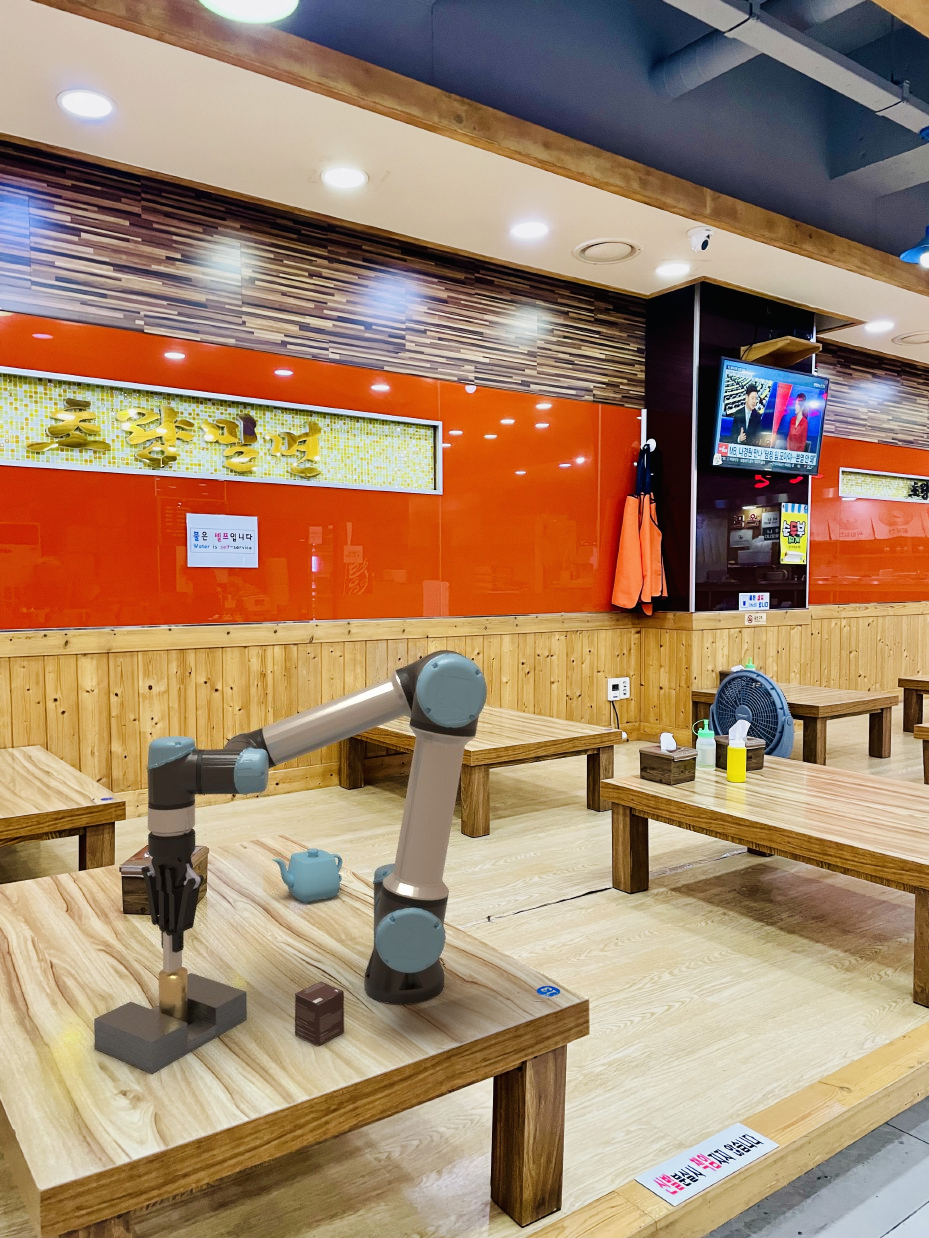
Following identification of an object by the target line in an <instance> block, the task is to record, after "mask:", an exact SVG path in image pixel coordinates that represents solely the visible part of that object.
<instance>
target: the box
mask: <svg viewBox="0 0 929 1238" xmlns="http://www.w3.org/2000/svg"><path fill="white" fill-rule="evenodd" d="M294 995H295V996H294V1034H295V1035H294V1036H295V1037H297V1038H300V1039H303V1040H304V1041H307V1042H309V1043H311V1044H313V1046H316V1047H320V1046H321V1045H322V1044H325V1043H326V1042H329V1041H330V1040H332V1039H333V1038H335V1037H338V1036H339V1035H341V1034H343V1033H344V1032H345V1005H344V1004H345V1003H344V1002H345V991H344V990H343V989H340V988H338V987H336V986H333V985H331V984H328V983H326V982H323V981H319V982H317V983H315V984H312V985H310V986H308V987H305V988H304V989H301V990H300V991H297V992H295V993H294Z"/></svg>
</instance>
